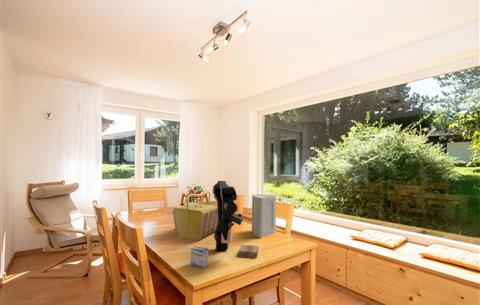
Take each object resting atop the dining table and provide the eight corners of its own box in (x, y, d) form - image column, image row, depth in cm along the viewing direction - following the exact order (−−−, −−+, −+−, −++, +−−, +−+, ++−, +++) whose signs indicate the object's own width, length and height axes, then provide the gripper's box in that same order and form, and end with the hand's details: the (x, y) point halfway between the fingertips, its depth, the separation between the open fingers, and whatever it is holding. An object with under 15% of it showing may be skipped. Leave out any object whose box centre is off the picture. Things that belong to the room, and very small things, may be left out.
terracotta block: (221, 242, 126) (221, 231, 126) (223, 239, 131) (223, 228, 131) (230, 243, 125) (230, 232, 125) (232, 240, 130) (232, 229, 130)
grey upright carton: (260, 228, 188) (260, 193, 189) (275, 232, 178) (276, 195, 179) (244, 233, 173) (245, 195, 174) (260, 238, 163) (261, 197, 164)
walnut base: (238, 256, 132) (239, 251, 132) (241, 249, 141) (241, 244, 142) (256, 257, 130) (256, 252, 130) (258, 251, 140) (258, 246, 140)
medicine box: (190, 265, 119) (190, 248, 119) (194, 262, 123) (195, 245, 124) (203, 268, 116) (204, 250, 117) (208, 264, 120) (208, 247, 121)
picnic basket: (195, 227, 188) (196, 189, 190) (224, 231, 178) (224, 191, 179) (170, 237, 162) (171, 193, 163) (201, 243, 151) (202, 196, 152)
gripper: (239, 214, 118) (238, 245, 118) (244, 207, 137) (244, 234, 136) (217, 213, 120) (216, 244, 119) (225, 206, 138) (225, 233, 138)
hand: (226, 238), depth 128 cm, fingers closed on terracotta block, 5 cm apart
